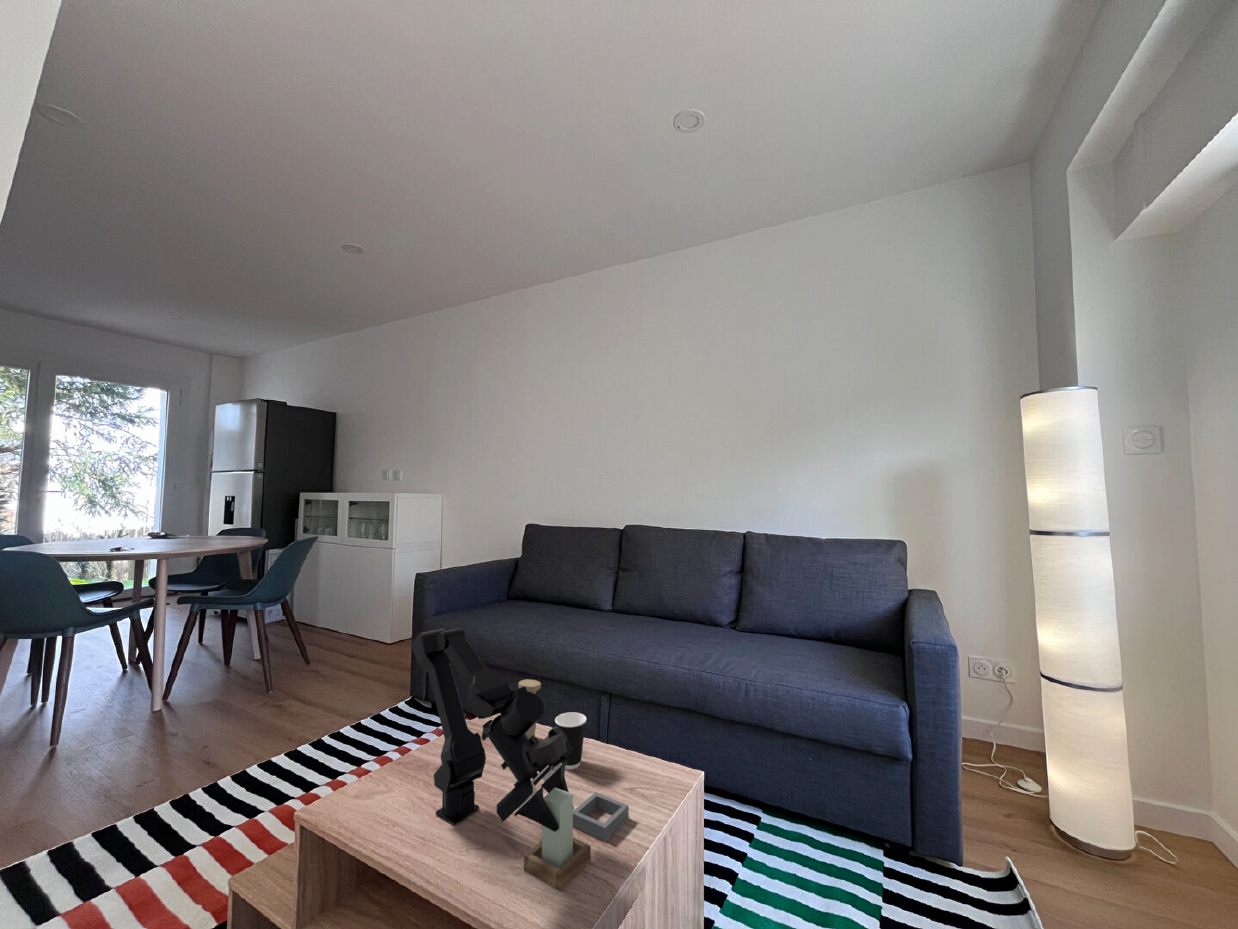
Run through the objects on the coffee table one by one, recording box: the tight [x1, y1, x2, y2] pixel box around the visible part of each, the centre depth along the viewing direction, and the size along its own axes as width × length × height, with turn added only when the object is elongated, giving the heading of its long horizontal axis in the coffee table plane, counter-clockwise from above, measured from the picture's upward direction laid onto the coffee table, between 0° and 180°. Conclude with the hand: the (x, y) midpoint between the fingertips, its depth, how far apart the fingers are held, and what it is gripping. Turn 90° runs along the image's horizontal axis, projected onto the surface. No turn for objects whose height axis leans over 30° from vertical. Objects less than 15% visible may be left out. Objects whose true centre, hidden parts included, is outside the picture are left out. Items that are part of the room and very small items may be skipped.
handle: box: [518, 678, 542, 738], centre depth 136 cm, size 5×6×15 cm
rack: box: [523, 837, 592, 892], centre depth 88 cm, size 8×8×2 cm
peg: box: [541, 788, 574, 869], centre depth 88 cm, size 4×4×12 cm
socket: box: [573, 792, 630, 842], centre depth 100 cm, size 8×8×2 cm
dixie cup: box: [554, 711, 587, 770], centre depth 122 cm, size 8×8×11 cm
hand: (564, 820), depth 88 cm, fingers open, 5 cm apart
